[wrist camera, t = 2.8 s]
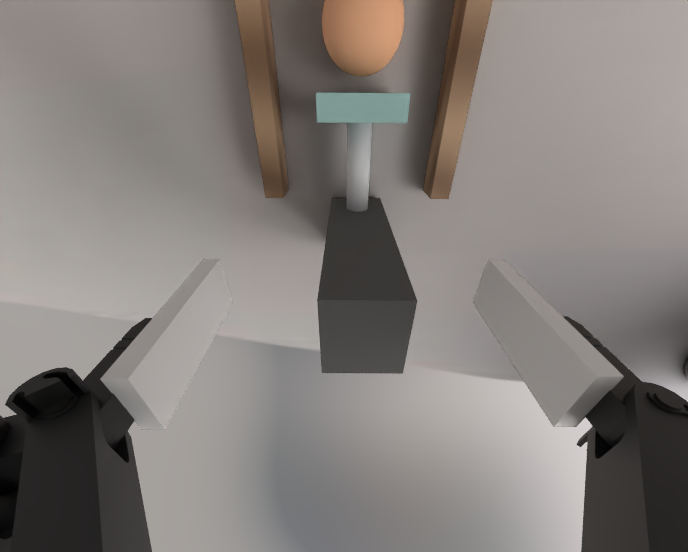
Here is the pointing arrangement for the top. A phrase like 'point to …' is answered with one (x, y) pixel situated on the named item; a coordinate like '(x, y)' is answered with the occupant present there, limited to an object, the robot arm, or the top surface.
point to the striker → (362, 252)
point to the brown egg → (362, 33)
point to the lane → (451, 106)
